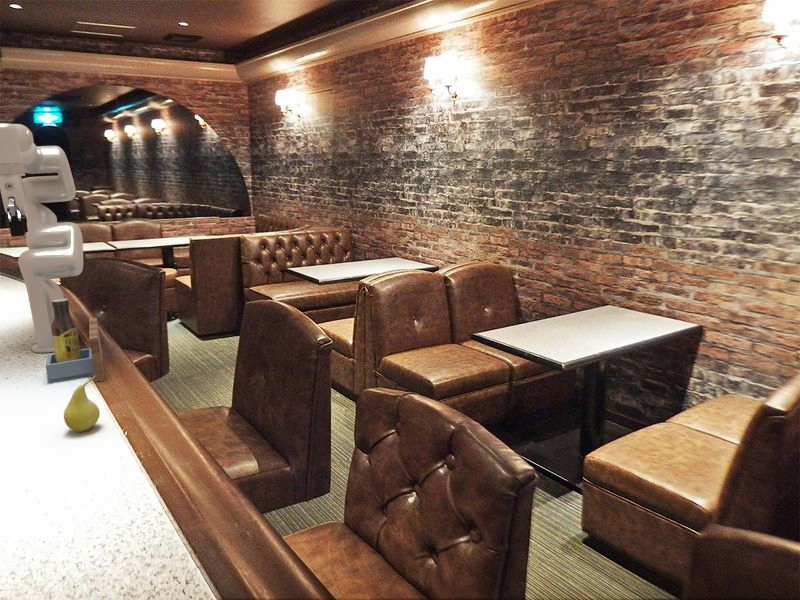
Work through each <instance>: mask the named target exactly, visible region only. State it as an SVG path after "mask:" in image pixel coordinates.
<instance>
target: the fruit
mask: <svg viewBox="0 0 800 600" xmlns="http://www.w3.org/2000/svg"><path fill="white" fill-rule="evenodd" d="M94 380H96V375H94V376H91V378H90V379H88V380H87V381H86V382H85V383H83V384H81V385H79V386H78V387H77V388H76V389H75V390H74V391H73V393H72V394H71V395H72V396H71V398H70V400H69V401H68V403H67V406H66V407H65V409H64V412H63V420H64V423H65V424H66V426H67V428H69V429H70V430H71V431H74V432H77V433H83V432H85V431H88V430H89V429H92V427H93V426H95V425H96V423H97V422H98V420H99V418H100V416H101V413H100V408H99V406H98V405H97V404H96V403H95V402H94V401H92V400H91V399H89V398H88V395H87V392H86V386H87V385H88V384H89V383H90V382H92V381H94Z"/></svg>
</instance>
